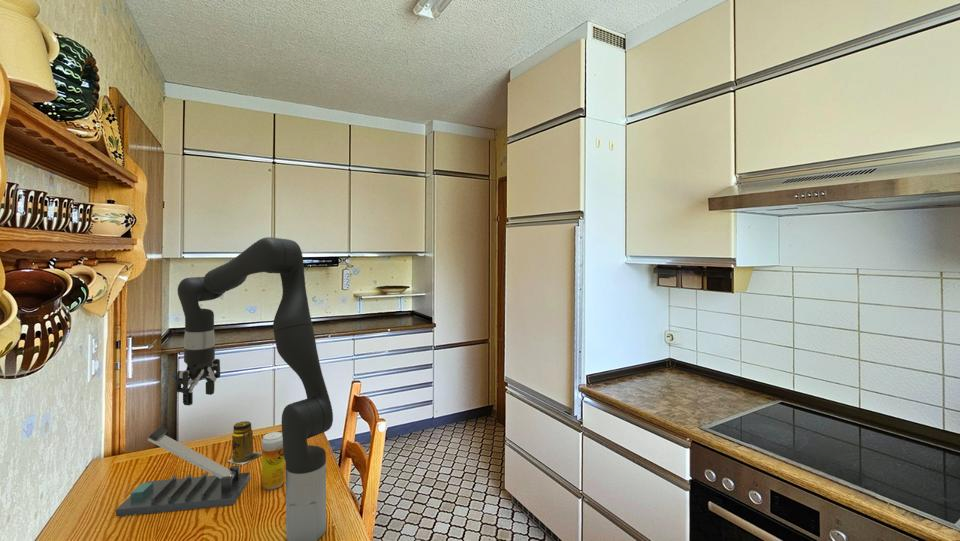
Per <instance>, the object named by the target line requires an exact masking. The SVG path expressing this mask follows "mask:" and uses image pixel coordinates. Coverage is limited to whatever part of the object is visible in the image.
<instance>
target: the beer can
mask: <svg viewBox="0 0 960 541" xmlns="http://www.w3.org/2000/svg"><path fill="white" fill-rule="evenodd" d="M261 453H262V454H261V478H262V479H261V484H262V487H263V488H264V489H265V490H276V489H278V488H280V487H281V486H283V484H284V483H285V482H286V463H285V458H284V453H283V437H282V431H272V432H270V433H267V434H264V435H263V436H262V439H261Z"/></svg>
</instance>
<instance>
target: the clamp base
mask: <svg viewBox="0 0 960 541" xmlns="http://www.w3.org/2000/svg"><path fill="white" fill-rule="evenodd" d="M228 469H229V470H231V471H235V472H236V475H235V477H234V478H233V479H232V476H225V477H222V478H221V479H220V478H218V477H216V476H214V475H207V473H206V472H203V474H201V476H195V477H194V476H193V477H192V474H191V473H189V474H188V475H187V476H186V477H181V478H177V475H173V476H172V477H171V478H170V479H169V478H168V479H160V480H149V481H148V480H146V481H145V482H141V483H140V484H139V485H137V486H136V487H135V488H134V489H133V490H132V491H130V493H129V494H130V496H129V497H128V498H126V500H124V501H123V502H122V503H121V504H120V505H119V506H118V507H116V509H115V517H116V516H121V517H127V516H126V515H131V516H135V515H134V514H141V515H147V514H148V515H149V514H151V515H152V514H159V513H167V512H177V511H178V512H181V511H189V510H197V509H208V508H218V507H229V506H234V505H235V503H236V502H237V500H238V498H239V497H240V496H241V494H242V492H243V491H244V489H245V488H246V486H247V484H248V483H249V481H250V480H251V472H241V471H240V465H230V467H229V468H228Z"/></svg>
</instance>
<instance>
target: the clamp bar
mask: <svg viewBox="0 0 960 541" xmlns="http://www.w3.org/2000/svg"><path fill="white" fill-rule="evenodd" d="M168 431H169V430H168V429H166V428H164V427H163V426H160V427H159V428H158V429H156V430H155V431H153V432H152V433H151V434H150V435H149V436H148V439H147V441H148V442H150V443H152V444H153V445H156V446H158V447H160V448H162V449H163V450H166V451H168V452H169V453H171V454H173V455H175V456H177V457H179V458H180V459H183V460H184V461H186V462H187V463H190V464H192V465H193V466H195V467H198V468H199V469H201V470H202V471H205V472H207V473H209V475H210V474H211V476H216V477H218V478H220V479H221V478H222V477H225V476H232V479H233V478H234V477H235V475H236V472H235V471H231V470H229V468H227V467H226V466H224V465H222V464H220V463H218V462H216V461H214V460H212V459H211V458H209V457H207V456H205V455H203V454H202V453H200V452H198V451H195V450H194V449H192V448H190V447H188V446H186V445H185V444H183V443H181V442H179V441H177V440H176V439H173V438H172V437H170V436H168V435H166V433H167V432H168Z"/></svg>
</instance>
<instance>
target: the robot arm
mask: <svg viewBox="0 0 960 541" xmlns="http://www.w3.org/2000/svg"><path fill="white" fill-rule="evenodd" d="M258 273H266V274H267V273H268V274H279V275H280V279H281V280H280V281H281V288H282V295H281V300H280V303H279V305H278V307H277V309H276V310H277V311H276V313H275V315H274V318H273V321H272V322H273V323H272V330H273V335H274V336H273V337H274V341H275V346H276V350H277V353H278V355H279V356H280V357H281V359H282V360H283V361H284V362H285V363H286V364H287V366H289V367H290V369H292V370H293V371H294V373H295V374H296V375H297V376H298V377H299V380H301V383H302V385H303V387H304V391H305V394H306V398H305V399H301V400H298V401H295V402H291V403H289V404H287V405H286V406H284V408H283V410H282V414H281V433H282V437H283V453H284V458H285V531H286V533H285V538H286V540H287V541H319V539H320V538H321V537H323V535H324V534H325V533H326V531H327V474H326V473H327V452H326V450H325V449H324V448H323V447H321V446H319V445H313V444H312V445H311V444H308V439H310V438H313V437H316V436H318V435H321V434H323V433H325V432H328V431H329V430H330V429H331V428H332V426H333V422H334V413H333V407H332V403H331V399H330V396H329V392H328V390H327V389H328V388H327V385H326V383H325V379H324V376H323V372H322V368H321V364H320V359H319V354H318V348H317V342H316V335H315V331H314V325H313V322H312V321H313V320H312V317H311V313H310V307H309V302H308V295H307V288H306V279H305V278H306V277H305V265H304V258H303V252H302V249H301V247H300V245H299V244H298V242H296V241H295V240H292V239H286V238H279V237H272V236H271V237H270V236H269V237H268V236H267V237H263V238H261V239H260V238H259V240H257V241H255V242H254V243H253V244H251V245H250V246H248V247H247V248H246V249H244V251H242V252H241V253H239V254H238V255H237V256H236V257H234V258H233V259H232V260H230V261H227V262H226V263H224V264H222V265H220V266H218V267H215V268H213V269H211V270H210V271H209V270H208V271H207V273H206V274H205V275H204V276H195V277H192V276H191V277H185V278H183V279H182V280H181V281H180V282H179V284H178V286H177V296H178V299H179V301H180V302H179V303H180V304H181V308H182V311H183V314H184V337H183V362H184V364H186V369H185V370H178V371H177V373H176V384H175V385H176V387H175V389H176V390H175V391H176V393H181V394H182V403H183V405H184V406H192V405H193V402H194V401H193V400H194V396H193V393H194V392H193V391H194V388H195V386H197V385H198V384H199V382H200V381H202V380H203V379H204V380H205V381H206V382H205V395H210V396H211V395H214V394H215V382H216V381H217V379H219V378H220V377H221V360H220V359H218V358H216V353H215V352H216V351H215V349H216V347H215V346H216V335H215V314H214V313H215V312H214V311H213V310H212V309H210V308H201V307H200V303H199V302H205V301H206V302H207V301H212V300H216V299H218V298H220V297H222V295H224V294H225V293H227V292H228V291H230V290H233V289H235V288H238V287H239V286H241V285H242V284H243V283H244V282H245V281H246V280H247V278H248V277H249V276H250V275H253V274H258Z"/></svg>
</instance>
